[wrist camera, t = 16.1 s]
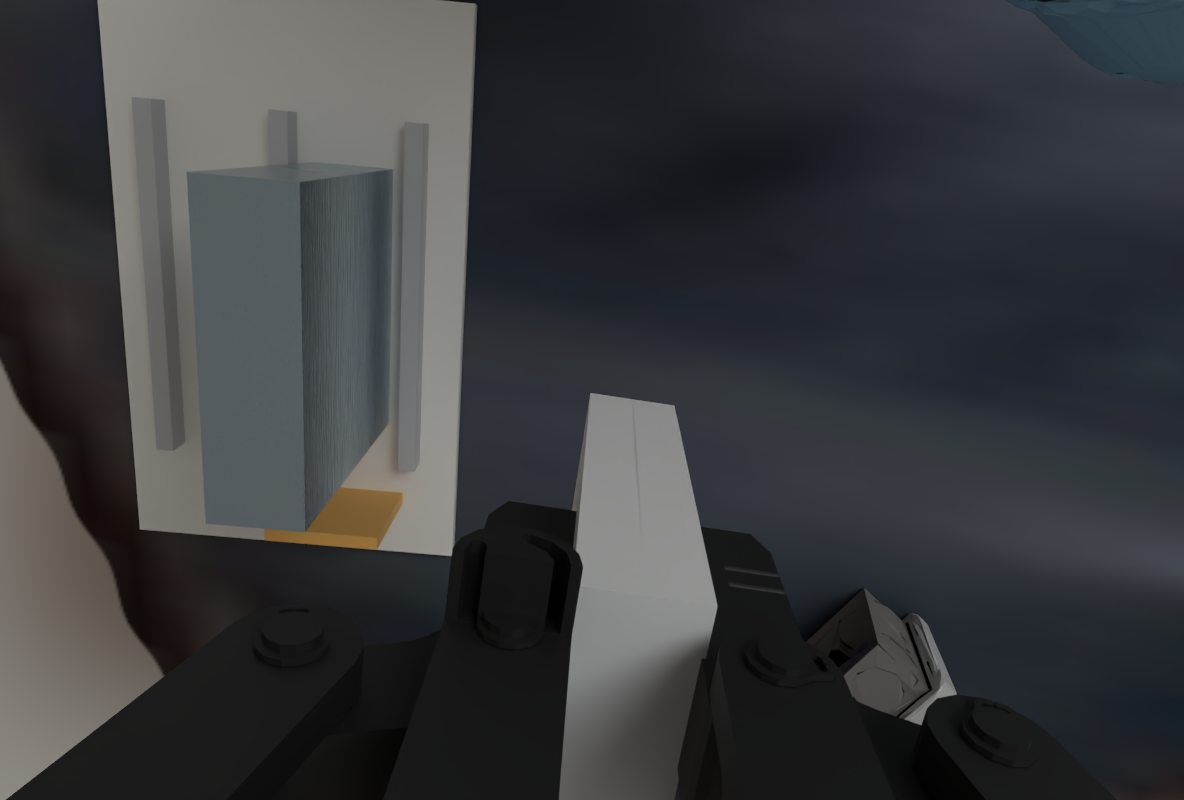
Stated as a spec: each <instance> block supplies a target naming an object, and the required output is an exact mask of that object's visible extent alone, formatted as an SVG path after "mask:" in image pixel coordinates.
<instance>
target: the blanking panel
mask: <svg viewBox="0 0 1184 800" xmlns="http://www.w3.org/2000/svg"><path fill="white" fill-rule="evenodd" d="M187 188H188V206H189V225H190V243H191V262H192V280H193V299H194V317H195V335H196V354H197V372H198V391H199V409H200V427H201V446H202V464H203V483H204V501H205V519H206V524H214V525H225V526H237V527H249V528H260V529H272V530H284V531H295V532H306V531H307V529H308V528H309V527H310V525H311V524H312V523H313V522H314V520H315V519H316V518H317V516H318V515H319V514H320V512H321V511H322V510H323V508H324V507H325V506H326V505H327V503H328V502H329V501H330V499H331V498H332V497H333V495H334V494H335V493H336V492H337V490H338V489H339V488H340V486H341V485H342V484H343V482H344V481H345V480H346V478H347V477H348V476H349V475H350V473H351V472H352V471H353V469H354V468H355V467H356V465H357V464H358V463H359V462H360V460H361V459H362V458H363V456H364V455H365V454H366V452H367V451H368V450H369V448H370V447H371V446H372V445H373V443H374V442H375V441H376V439H377V438H378V437H379V435H380V434H381V433H382V431H383V430H384V429H385V428H386V426H387V425H388V424H389V402H390V340H391V278H392V216H393V169H387V168H376V167H365V166H354V165H343V164H332V163H321V162H308V163H295V164H282V165H269V166H256V167H243V168H230V169H217V170H204V171H191V172H187Z"/></svg>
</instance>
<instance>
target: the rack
mask: <svg viewBox="0 0 1184 800" xmlns="http://www.w3.org/2000/svg"><path fill="white" fill-rule="evenodd" d="M98 13H99V25H100V38H101V50H102V63H103V75H104V88H105V100H106V113H107V125H108V138H109V150H110V163H111V175H112V188H113V200H114V213H115V225H116V238H117V250H118V262H119V275H120V287H121V300H122V312H123V325H124V337H125V350H126V362H127V375H128V387H129V400H130V412H131V425H132V437H133V450H134V462H135V475H136V487H137V500H138V512H139V525H140V529H141V530H152V531H164V532H176V533H187V534H199V535H211V536H222V537H234V538H246V539H257V540H266V541H278V542H289V543H301V544H313V545H325V546H336V547H348V548H360V549H371V550H386V551H397V552H409V553H421V554H432V555H444V556H452V549H453V547H454V544H455V520H456V497H457V473H458V449H459V426H460V402H461V378H462V355H463V331H464V308H465V284H466V260H467V237H468V213H469V189H470V166H471V142H472V118H473V95H474V71H475V48H476V24H477V5H476V4H475V3H464V2H453V1H442V0H98ZM308 162H321V163H332V164H343V165H354V166H365V167H376V168H387V169H393V216H392V278H391V340H390V402H389V424H388V425H387V426H386V428H385V429H384V430H383V431H382V433H381V434H380V435H379V437H378V438H377V439H376V441H375V442H374V443H373V445H372V446H371V447H370V448H369V450H368V451H367V452H366V454H365V455H364V456H363V458H362V459H361V460H360V462H359V463H358V464H357V465H356V467H355V468H354V469H353V471H352V472H351V473H350V475H349V476H348V477H347V478H346V480H345V481H344V482H343V484H342V485H341V486H340V488H339V489H338V490H337V492H336V493H335V494H334V495H333V497H332V498H331V499H330V501H329V502H328V503H327V505H326V506H325V507H324V508H323V510H322V511H321V512H320V514H319V515H318V516H317V518H316V519H315V520H314V522H313V523H312V524H311V525H310V527H309V528H308V529H307V531H306V532H295V531H284V530H272V529H260V528H249V527H237V526H225V525H214V524H206V519H205V501H204V483H203V464H202V446H201V427H200V409H199V391H198V372H197V354H196V335H195V317H194V299H193V280H192V262H191V243H190V225H189V206H188V188H187V172H191V171H204V170H217V169H230V168H243V167H256V166H269V165H282V164H295V163H308Z"/></svg>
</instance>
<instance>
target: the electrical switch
mask: <svg viewBox="0 0 1184 800" xmlns="http://www.w3.org/2000/svg"><path fill="white" fill-rule="evenodd" d="M841 619H842V620H841ZM840 620H841V621H840ZM839 621H840V623H839ZM840 638H841V641H843V642H844V643H846V644H847V645H849V646H850V647H852V648H853V649H855V650H852V649H850V648H848V647H846V646H845V645H844V644H843V643H842V642H841V641H840ZM806 643H808V644H810V645H812V646H814V647H816V648H817V649H819V650H820V651H821V652H823V653H824V654H825V655H826V656H829V653H830V652H831V651H833V650H840V651H841V652H843V653H844V654H845V655H847V656H848V657H849V658H851V659H849V660H848V661H846V662H845V663H844V664H842V665H841V666H840V667H838V668H839V670H840V671H841V673H842V674H843V676H844V678H845V680H846V683H847V685H848V687H849V690H850V692H851V695H852V697H853V699H854V700H856V701H858V702H860V703H862V704H865V705H867V706H869V707H872V708H874V709H877V710H879V711H882V712H885V713H888V714H891V715H893V716H896V717H899V718H902V719H905V720H908V721H911V722H913V723H916V724H919V725H922V722H923V719H924V716H925V713H926V710H927V708H928V707H929V706H930V705H931V704H932V703H933V702H934V701H935V700H936V699H937V698H941V697H947V696H952V695H956V694H957V693H956V691H955V688H954V686H953V684H952V681H951V679H950V677H949V674H948V672H947V670H946V667H945V665H944V663H943V660H942V658H941V655H940V653H939V651H938V648H937V646H936V644H935V641H934V639H933V637H932V634H931V632H930V629H929V627H928V625H927V624H926V623H925V622H924V621H923V620H922V619H921V618H920V617H919V616H918V615H917V614H909V615H908V616H906V617H905V618H904V619H903V620H901V619H899V618H898V617H897V616H896V615H895V614H894V613H893V612H892V611H891V610H890V609H889V608H887V607H886V606H884V605H882V604H881V603H880V602H879V601H878V600H877V599H876V598H875V597H873V596H872V595H871V594H870V593H869V592H868V591H867V590H866V589H865V588H864V589H862V590H861V591H860V592H859V593H858V594H857V595H856V596H855V597H854V598H853V599H852V600H851V601H849V602H848V603H847V604H846V605H845V606H844V607H843V608H842V609H841V610H840V611H839V612H838V613H837V614H835V615H834V616H833V617H832V618H831V619H830V620H829V621H828V622H827V623H826V624H825V625H824V626H823V627H822V628H820V629H819V630H818V631H817V632H816V633H815V634H814V635H813V636H812V637H811V638H810V639H809V640H808V641H807V642H806ZM851 654H852V655H851Z"/></svg>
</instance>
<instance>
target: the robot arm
mask: <svg viewBox="0 0 1184 800" xmlns="http://www.w3.org/2000/svg"><path fill="white" fill-rule="evenodd" d="M1006 1H1008V2H1010V3H1011V4H1013V5H1014V6H1016V7H1018V8H1021V9H1024V10H1027V11H1030V12H1032V13H1033V14H1035V15H1036V16H1037V17H1038V18H1039V19H1040V20H1041V21H1042V22H1043V23H1044V24H1045V25H1047V26H1048V27H1049V28H1050V29H1051V30H1052V31H1053V32H1054V33H1055V34H1056V35H1058V36H1059V37H1060V38H1061V39H1062V40H1063V41H1064V42H1065V43H1066V44H1067V45H1068V46H1069V47H1070V48H1071V49H1073V50H1074V51H1075V52H1076V53H1077V54H1078V55H1079V56H1080V57H1081V58H1082V59H1083V60H1084V61H1086V62H1087V63H1089V64H1090V65H1091V66H1093V67H1095V68H1097V69H1098V70H1100V71H1102V72H1104V73H1107V74H1109V75H1111V76H1114V77H1117V78H1126V79H1142V80H1145V81H1153V82H1156V83H1160V84H1179V83H1184V0H1006ZM678 781H679V788H680V798H681V800H1117V799H1116V798H1115V797H1114V796H1113V795H1112V794H1111V793H1110V792H1109V791H1108V790H1107V789H1106V788H1105V787H1104V786H1103V785H1102V784H1101V783H1100V782H1099V781H1098V780H1097V779H1096V778H1094V777H1093V776H1092V775H1091V774H1090V773H1089V772H1088V771H1087V770H1086V769H1085V768H1084V767H1083V766H1082V765H1081V764H1080V763H1079V762H1078V761H1077V760H1076V759H1075V758H1074V757H1073V756H1072V755H1071V754H1070V753H1069V752H1068V751H1067V750H1066V749H1065V748H1064V747H1063V746H1062V745H1061V744H1060V743H1059V742H1058V741H1057V740H1056V739H1055V738H1054V737H1053V736H1051V735H1050V734H1049V733H1047V732H1046V731H1045V730H1044V729H1042V728H1041V727H1040V726H1039V725H1037V724H1036V723H1035V722H1034V721H1032V720H1030V719H1029V718H1027V717H1025V716H1023V715H1021V714H1019V713H1017V712H1016V711H1014V710H1013V709H1012V708H1010V707H1008V706H1006V705H1003V704H1000V703H998V702H995V703H994V702H992V700H988V699H984V698H979V697H970V696H962V695H952V696H947V697H941V698H937V699H936V700H935V701H934V702H933V703H932V704H931V705H930V706H929V707H928V708H927V710H926V713H925V716H924V719H923V722H922V725H919V724H916V723H913V722H911V721H908V720H905V719H902V718H899V717H896V716H893V715H891V714H888V713H885V712H882V711H879V710H877V709H874V708H872V707H869V706H867V705H865V704H862V703H860V702H858V701H856V700H854V699H853V697H852V695H851V692H850V690H849V687H848V685H847V683H846V680H845V678H844V676H843V674H842V673H841V671H840V670H839V668H838V667H837V666H836V664H835V663H834V661H833V660H832V659H830V658H829V657H828V656H826V655H825V654H824V653H823V652H821V651H820V650H819V649H817V648H816V647H814V646H812V645H810V644H808V643H806V642H804V641H803V639H802V636H801V634H800V631H799V628H798V626H797V623H796V620H795V617H794V615H793V612H792V609H791V607H790V604H789V601H788V598H787V596H786V594H784V588H783V585H782V582H781V579H780V578H779V577H778V571H777V569H776V566H775V563H774V560H773V558H772V555H771V553H770V552H769V551H768V550H767V549H766V548H765V547H763V546H762V545H761V544H760V543H759V542H758V541H757V540H756V539H755V538H754V537H753V536H752V535H751V534H746V533H739V532H732V531H725V530H718V529H712V528H705V527H700V522H699V518H698V513H697V508H696V504H695V499H694V495H693V490H692V485H691V481H690V476H689V471H688V467H687V462H686V458H685V453H684V448H683V444H682V439H681V434H680V430H679V425H678V420H677V416H676V411H675V407H674V406H673V405H666V404H660V403H653V402H646V401H640V400H633V399H627V398H620V397H613V396H607V395H600V394H593V393H590V399H589V405H588V412H587V418H586V425H585V431H584V437H583V444H582V450H581V457H580V463H579V469H578V476H577V482H576V488H575V495H574V501H573V508H572V510H565V509H558V508H552V507H545V506H538V505H531V504H525V503H518V502H511V501H508V502H506V503H505V504H503V505H502V506H501V507H499V508H498V509H496V510H495V511H493V512H492V513H491V514H489V516H488V519H487V522H486V525H485V528H484V529H480V530H477V531H475V532H472V533H470V534H468V535H466V536H463V537H462V538H461V539H460V540H459V541H458V542H457V543H456V545H455V546H454V547H453V549H452V558H451V567H450V576H449V585H448V594H447V603H446V612H445V620H444V623H443V626H442V629H440V630H438V631H436V632H434V633H432V634H430V635H429V636H425V637H422V638H419V639H416V640H412V641H407V642H400V643H392V644H378V645H364V640H363V632H362V630H361V629H360V628H359V626H358V625H357V624H356V623H355V622H354V621H353V620H352V619H351V618H350V617H348V616H346V615H344V614H342V613H340V612H338V611H336V610H333V609H331V608H326V607H320V606H314V605H309V604H296V605H293V604H289V605H279V606H275V607H271V608H267V609H263V610H259V611H256V612H253V613H251V614H249V615H247V616H245V617H243V618H242V619H240V620H238V621H236V622H234V623H233V624H231V625H230V626H229V627H227V628H226V629H225V630H223V631H222V632H221V633H220V634H218V635H217V636H216V637H214V638H213V639H212V640H211V641H209V642H208V643H207V644H205V645H204V646H203V647H202V648H200V649H199V650H198V651H196V652H195V653H194V654H193V655H191V656H190V657H189V658H187V659H186V660H185V661H184V662H182V663H181V664H180V665H178V666H177V667H176V668H175V669H173V670H172V671H171V672H169V673H168V674H167V675H166V676H164V677H163V678H162V679H161V680H159V681H158V682H157V683H155V684H154V685H153V686H151V687H150V688H149V689H148V690H146V691H145V692H144V693H143V694H141V695H140V696H139V697H138V698H136V699H135V700H134V701H132V702H131V703H130V704H129V705H127V706H126V707H125V708H123V709H122V710H121V711H119V712H118V713H117V714H116V715H114V716H113V717H112V718H110V719H109V720H108V721H107V722H105V723H104V724H103V725H101V726H100V727H99V728H98V729H96V730H95V731H94V732H92V733H91V734H90V735H89V736H87V737H86V738H85V739H84V740H82V741H81V742H80V743H78V744H77V745H76V746H74V747H73V748H72V749H71V750H69V751H68V752H67V753H65V754H64V755H63V756H62V757H60V758H59V759H58V760H57V761H55V762H54V763H53V764H51V765H50V766H49V767H47V768H46V769H45V770H44V771H42V772H41V773H40V774H38V775H37V776H36V777H35V778H33V779H32V780H31V781H30V782H28V783H27V784H26V785H24V786H23V787H22V788H21V789H19V790H18V791H17V792H15V793H14V794H13V795H12V796H10V797H9V798H8V799H6V800H674V799H675V794H676V790H677V785H678Z"/></svg>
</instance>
